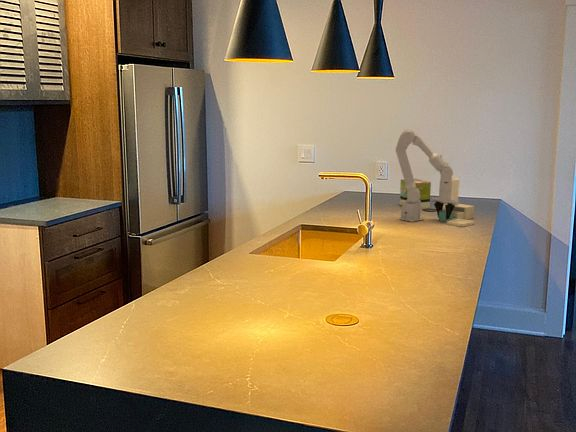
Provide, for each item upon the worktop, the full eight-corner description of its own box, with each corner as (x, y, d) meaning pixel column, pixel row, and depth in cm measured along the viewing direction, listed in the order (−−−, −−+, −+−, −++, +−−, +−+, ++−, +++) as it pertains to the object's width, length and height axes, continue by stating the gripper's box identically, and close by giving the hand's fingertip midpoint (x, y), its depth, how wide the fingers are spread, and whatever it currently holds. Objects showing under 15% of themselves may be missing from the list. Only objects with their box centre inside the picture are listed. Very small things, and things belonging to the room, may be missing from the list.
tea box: (398, 205, 363) (400, 178, 361) (413, 204, 368) (415, 178, 365) (415, 209, 350) (416, 182, 347) (430, 208, 354) (431, 181, 351)
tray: (461, 227, 305) (461, 224, 305) (446, 224, 311) (446, 221, 311) (474, 224, 312) (474, 221, 312) (458, 221, 318) (458, 218, 318)
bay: (459, 220, 320) (460, 208, 319) (442, 217, 327) (442, 206, 326) (473, 217, 328) (474, 206, 327) (456, 215, 335) (457, 203, 334)
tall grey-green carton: (445, 221, 317) (446, 211, 316) (438, 220, 320) (439, 210, 319) (452, 220, 321) (453, 210, 320) (445, 219, 324) (446, 209, 323)
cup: (459, 209, 353) (460, 179, 350) (443, 208, 353) (445, 179, 350) (455, 206, 361) (457, 177, 358) (440, 206, 361) (442, 177, 358)
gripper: (462, 191, 314) (461, 219, 317) (437, 188, 325) (436, 215, 327) (454, 192, 310) (452, 221, 312) (429, 189, 320) (427, 216, 323)
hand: (443, 218), depth 319 cm, fingers closed on tall grey-green carton, 4 cm apart
